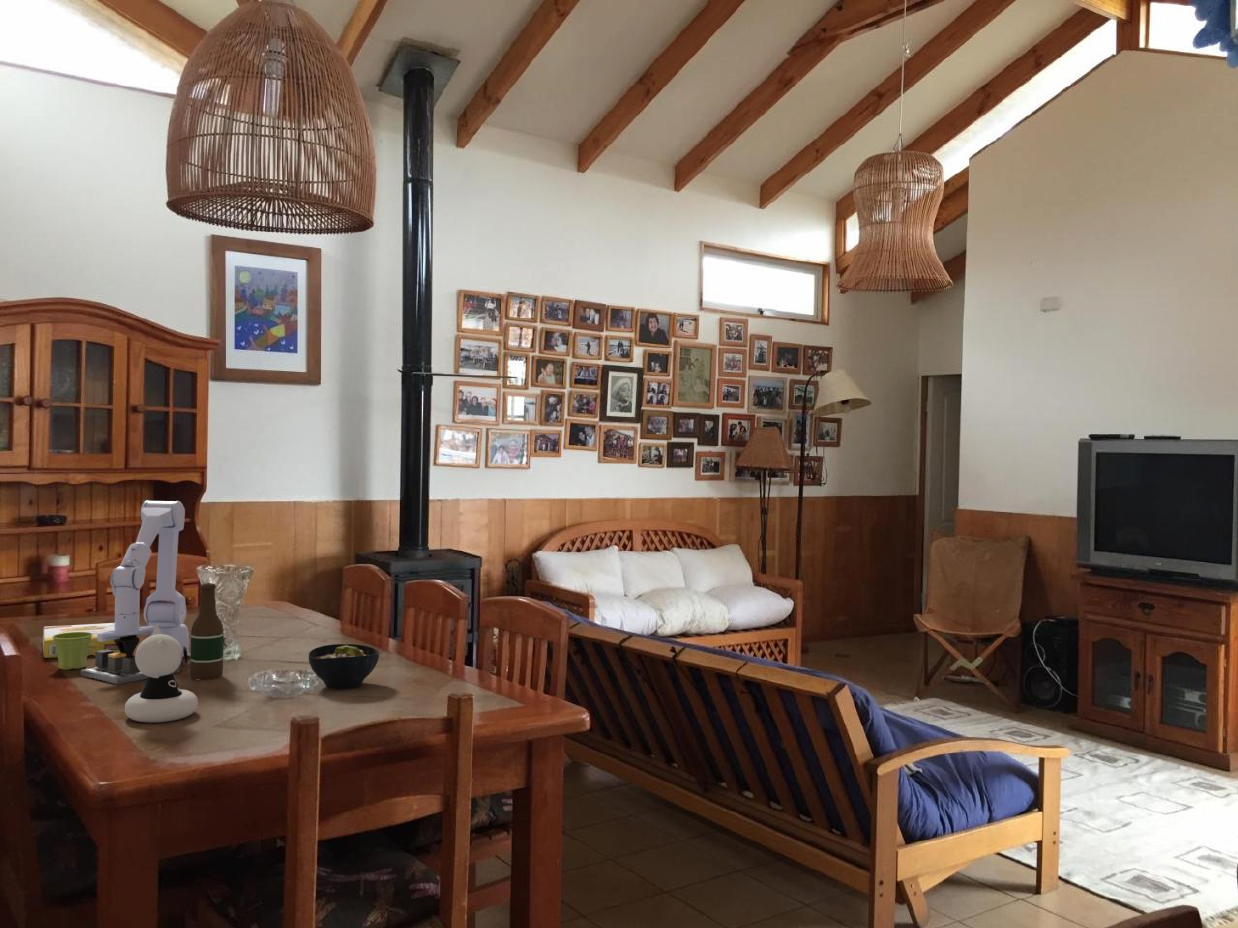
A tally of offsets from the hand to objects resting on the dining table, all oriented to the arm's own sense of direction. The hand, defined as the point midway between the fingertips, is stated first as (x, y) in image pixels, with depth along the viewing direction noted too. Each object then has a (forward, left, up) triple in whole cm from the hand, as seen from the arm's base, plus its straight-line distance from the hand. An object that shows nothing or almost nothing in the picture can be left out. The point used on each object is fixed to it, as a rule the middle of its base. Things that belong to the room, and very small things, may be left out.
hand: (126, 665), depth 256 cm
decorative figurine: (+18, +43, -3) cm, 47 cm away
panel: (-1, 0, -2) cm, 3 cm away
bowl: (-25, +53, -3) cm, 58 cm away
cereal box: (-13, -43, -3) cm, 45 cm away
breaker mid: (+3, 0, -1) cm, 3 cm away
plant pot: (+3, -19, -3) cm, 19 cm away
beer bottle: (-11, +18, -3) cm, 21 cm away
